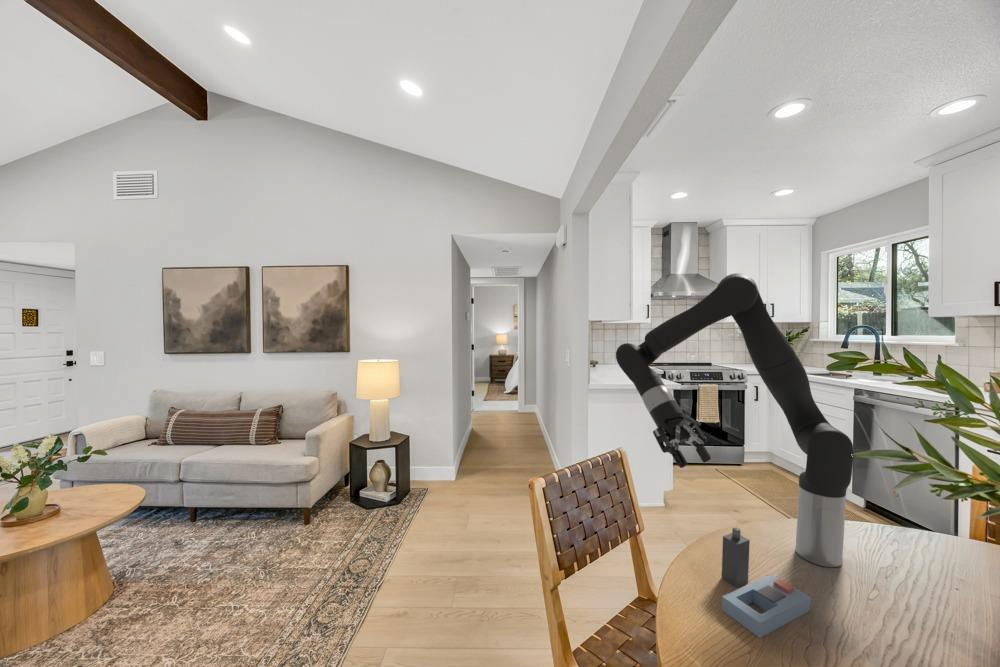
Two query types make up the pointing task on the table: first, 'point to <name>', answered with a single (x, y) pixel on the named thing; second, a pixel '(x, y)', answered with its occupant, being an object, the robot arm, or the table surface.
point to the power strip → (766, 604)
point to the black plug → (735, 558)
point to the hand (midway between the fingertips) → (696, 463)
